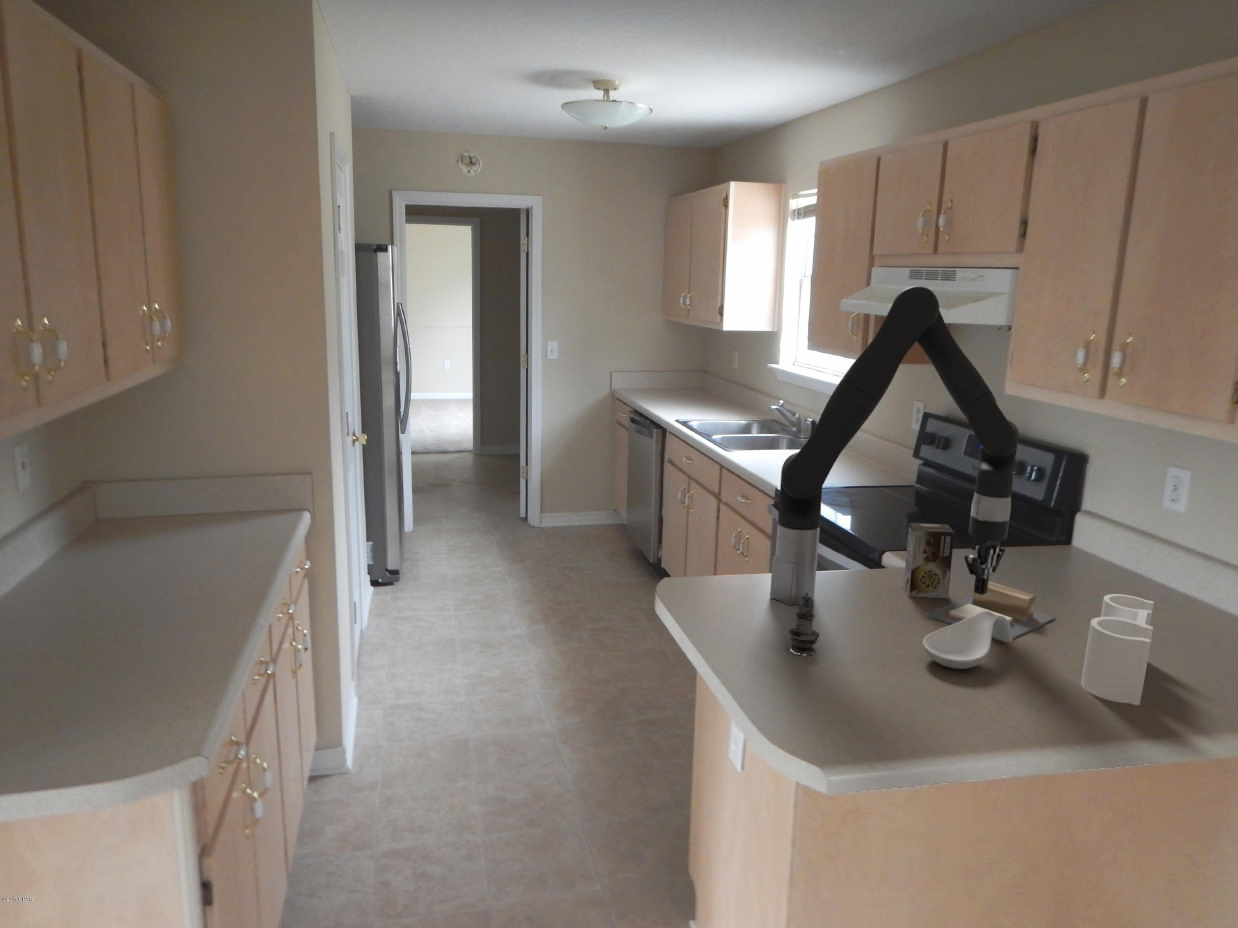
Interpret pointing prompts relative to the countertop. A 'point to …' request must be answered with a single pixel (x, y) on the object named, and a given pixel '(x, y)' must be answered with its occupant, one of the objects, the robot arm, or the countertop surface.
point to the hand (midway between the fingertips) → (980, 593)
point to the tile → (971, 612)
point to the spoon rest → (967, 640)
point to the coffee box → (928, 560)
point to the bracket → (1118, 649)
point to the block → (1006, 601)
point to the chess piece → (804, 628)
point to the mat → (1016, 625)
